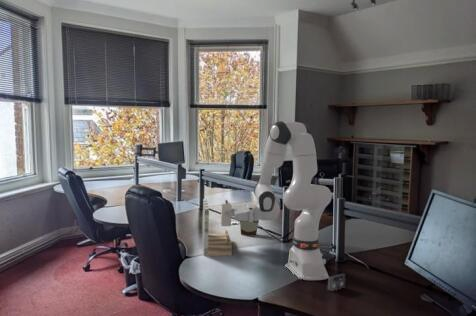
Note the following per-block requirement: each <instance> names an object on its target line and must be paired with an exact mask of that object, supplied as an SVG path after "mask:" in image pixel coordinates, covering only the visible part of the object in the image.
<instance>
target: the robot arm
mask: <svg viewBox="0 0 476 316" xmlns="http://www.w3.org/2000/svg"><path fill="white" fill-rule="evenodd" d="M315 144H316V143H315V141H314V138H313V136H312V129H311V128H310V125H308V124H307V123H304V122H299V121H291V120H288V121H276V122H273V123H272V124H271V126H270V128H269V135H268V137H267V139H266V143H265V146H264V150H263V151H264V152H263V162H262V167H261V170H260V171H261V172H260V175H259V179H258V181H257V182H256V184H255V186H254V187H253V193H254V196H255V198H256V200H257V203H246V204H245V205H246V206H245V205H242V204H240V205H239V204H232V207H231V212H225V216H231V217H233V218H234V221H238V222H239V221H249V222H253V220H260V221H274V220H277V219H278V218H279V217H280V214H281V206H280V205H279V203H278V201H277V200H276V199H277V198H276V195H275V193H274V191H273V189H272V185H271V181H272V177H273V174H274V170H275V169H279V168H281V167H282V166H283V164H284V162H285V159H286V155H287V148H288V145H289V146H290V147H291V152H292V153H291V154H292V155H291V156H292V169H293V170H292V171H293V172H292V177H291V178H292V179H291V182H290V184H289V186H288V188H287V189H285V191H284V193H283V196H282V199H283V200H282V201H283V204H284V206H285V207H286V208H287V209H288V210H290V211H291V210H292V211H301V213H300V215H298V217H296V219H295V220H294V229H293V231H294V233H293V237H292V246H291V248H289V250H288V251H289V254H288V262H287V263H285V265H284V268H286V267H287V268H288V269H289V270H290V271H291V272H292V273H291V272H290V271H289V270H288V269H287V268H286V269H287V270H288V271H289V272H290V273H291V274H293V275H294V274H295V275H296V276H297V277H298V278H297V277H296V276H295V275H294V276H295V277H296V278H297V279H299V280H302V279H303V280H304V281H323V280H327V279H328V277H330V276H329V274H328V271H327V269H326V267H325V265H326V264H327V262H326V258H322V257H323V256H324V255H323V253H321V249H320V241H319V226H320V225H319V224H320V220H321V218H322V215H323V212H324V211H325V209H326V207H328V205H329V204H330V203H331V201H332V191H331V190H330V188H329V187H327V186H326V185H322V184H312V185H311V183H312V180H313V177H315V176H316V175H317V173H318V162H317V152H316V151H317V150H316V145H315ZM303 280H302V281H303Z"/></svg>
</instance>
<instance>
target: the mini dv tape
mask: <svg viewBox="0 0 476 316" xmlns="http://www.w3.org/2000/svg"><path fill="white" fill-rule="evenodd" d="M346 277H347V276H346V274H345V273H340V274H339V273H338V274H336V275H332V276H329V277H328V280H327V288H326V289H327V291H328V290H329V291H332V292H335V291H334V290H336V291H338V290H337V289H340V290H342V289H341V288H344V289H346ZM329 291H328V292H329Z"/></svg>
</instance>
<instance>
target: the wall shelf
mask: <svg viewBox="0 0 476 316" xmlns="http://www.w3.org/2000/svg"><path fill="white" fill-rule="evenodd" d="M202 201H203V202H202V247H203V248H202V249H203V256H204V257H205V256H207V257H211V256H212V257H213V256H215V257H216V256H219V257H220V256H232V254H233V253H232V252H233V249H232V248H233V244H232V243H233V242H232V240H231V237H230V234H229V231H228V229H225V233H209V229H210V228H209V217H210V208H209V203H208V200H207V198H203V200H202Z"/></svg>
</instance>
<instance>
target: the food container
mask: <svg viewBox="0 0 476 316" xmlns="http://www.w3.org/2000/svg"><path fill="white" fill-rule="evenodd" d="M238 222H239V225H240V227H239V228H240V235H241V236H249V237H257V235H258V233H257V232H258V226H259V224H260V221H259V220H253V222H249V221H238Z"/></svg>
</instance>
